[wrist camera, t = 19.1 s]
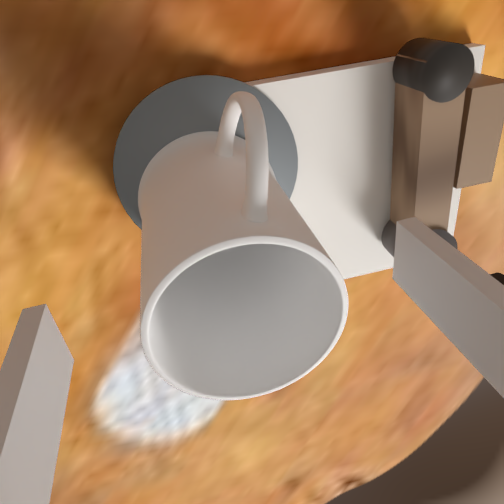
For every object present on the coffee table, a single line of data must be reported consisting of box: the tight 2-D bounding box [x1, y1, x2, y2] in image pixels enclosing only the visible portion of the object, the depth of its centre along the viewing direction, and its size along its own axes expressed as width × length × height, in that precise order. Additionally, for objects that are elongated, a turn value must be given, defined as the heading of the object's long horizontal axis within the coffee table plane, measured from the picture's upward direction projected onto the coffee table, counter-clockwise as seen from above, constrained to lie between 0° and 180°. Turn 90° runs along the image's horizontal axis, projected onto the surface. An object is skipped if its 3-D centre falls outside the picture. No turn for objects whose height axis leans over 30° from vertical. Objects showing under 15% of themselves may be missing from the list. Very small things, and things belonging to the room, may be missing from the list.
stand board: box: [113, 43, 504, 279], centre depth 26 cm, size 23×16×6 cm
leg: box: [381, 38, 475, 257], centre depth 26 cm, size 14×4×3 cm, turn 8°
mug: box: [138, 91, 348, 400], centre depth 20 cm, size 12×8×12 cm
